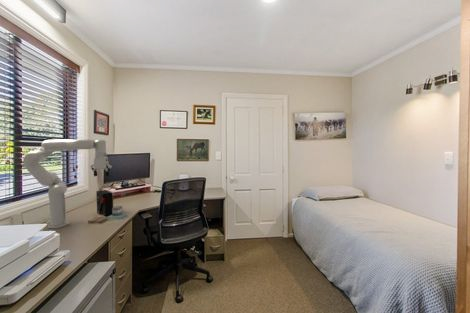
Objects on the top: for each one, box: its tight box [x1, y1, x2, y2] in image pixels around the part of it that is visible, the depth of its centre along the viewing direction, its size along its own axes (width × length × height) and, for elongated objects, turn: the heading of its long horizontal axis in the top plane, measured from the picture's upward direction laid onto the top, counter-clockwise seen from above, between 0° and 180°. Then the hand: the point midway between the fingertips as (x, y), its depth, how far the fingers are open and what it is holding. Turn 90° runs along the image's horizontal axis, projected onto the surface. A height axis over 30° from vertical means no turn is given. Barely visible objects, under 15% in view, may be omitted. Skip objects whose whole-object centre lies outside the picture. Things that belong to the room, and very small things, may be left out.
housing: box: [112, 205, 123, 216], centre depth 197 cm, size 7×5×7 cm
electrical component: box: [96, 189, 115, 217], centre depth 206 cm, size 18×10×20 cm, turn 47°
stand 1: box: [87, 216, 109, 224], centre depth 187 cm, size 10×10×2 cm
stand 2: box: [107, 212, 127, 220], centre depth 197 cm, size 10×10×2 cm
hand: (101, 176), depth 188 cm, fingers open, 9 cm apart
